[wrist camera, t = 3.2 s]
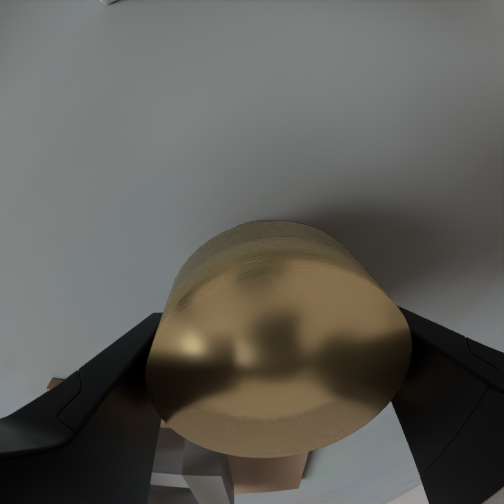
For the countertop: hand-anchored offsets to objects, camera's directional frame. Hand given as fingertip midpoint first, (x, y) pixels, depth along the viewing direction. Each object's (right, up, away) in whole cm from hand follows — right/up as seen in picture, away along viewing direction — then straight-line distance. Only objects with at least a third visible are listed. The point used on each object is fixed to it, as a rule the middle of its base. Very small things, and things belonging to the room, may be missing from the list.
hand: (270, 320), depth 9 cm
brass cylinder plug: (0, +1, +3) cm, 4 cm away
